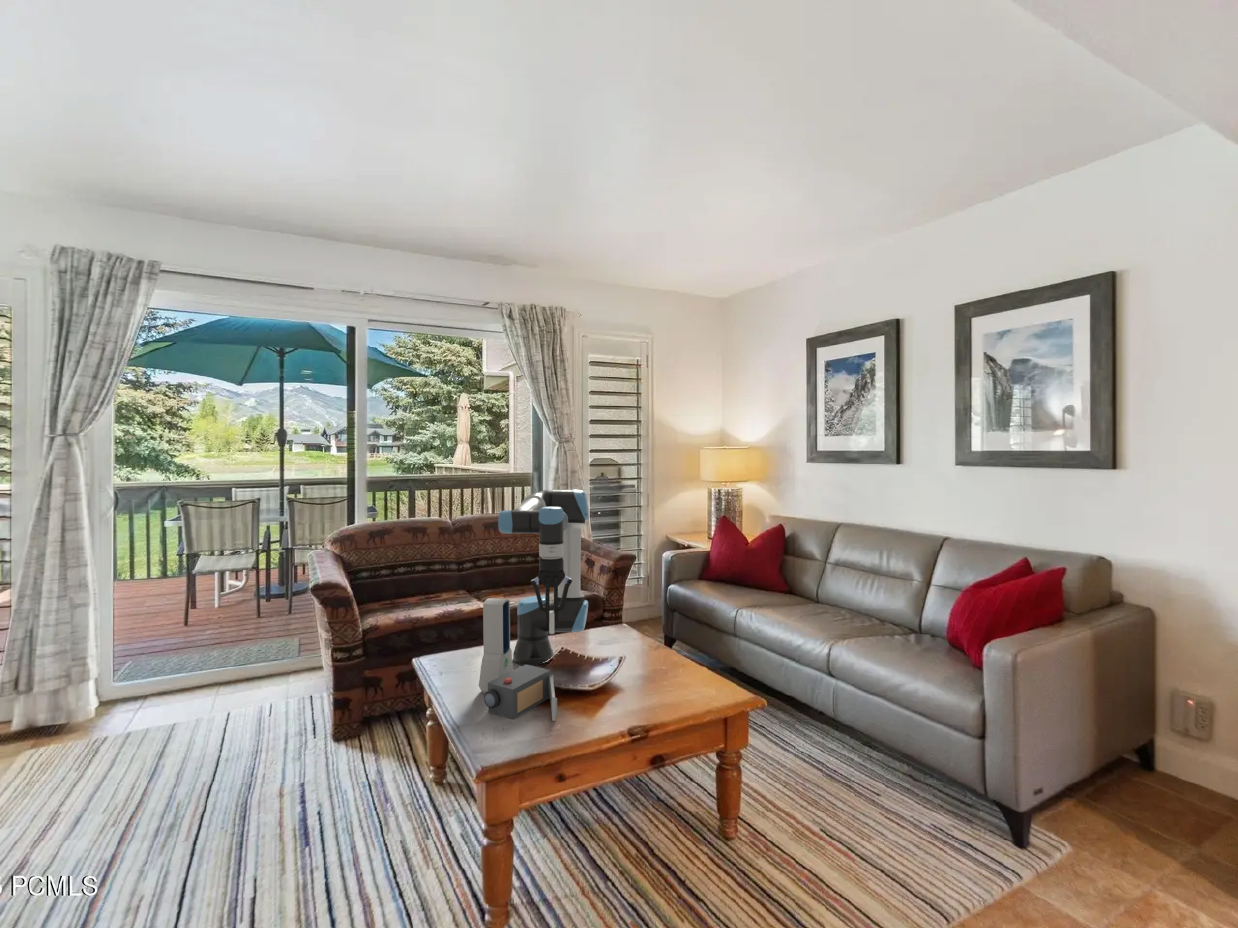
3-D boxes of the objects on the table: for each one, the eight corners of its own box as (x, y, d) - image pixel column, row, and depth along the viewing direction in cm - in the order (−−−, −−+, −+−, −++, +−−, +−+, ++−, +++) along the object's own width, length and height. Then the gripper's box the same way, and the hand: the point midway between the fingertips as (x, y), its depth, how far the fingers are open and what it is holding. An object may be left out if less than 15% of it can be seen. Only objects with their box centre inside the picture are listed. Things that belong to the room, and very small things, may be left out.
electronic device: (499, 696, 198) (498, 604, 197) (478, 694, 199) (476, 603, 198) (513, 681, 210) (512, 595, 209) (493, 679, 211) (492, 594, 210)
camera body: (526, 690, 202) (525, 661, 201) (550, 697, 196) (550, 667, 196) (483, 713, 185) (483, 681, 184) (509, 721, 180) (508, 688, 179)
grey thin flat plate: (549, 697, 196) (549, 675, 196) (554, 697, 196) (554, 674, 196) (551, 721, 179) (551, 696, 179) (557, 721, 180) (557, 696, 179)
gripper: (530, 559, 184) (530, 637, 184) (573, 558, 186) (573, 635, 186) (530, 555, 191) (530, 630, 191) (571, 554, 193) (571, 628, 193)
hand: (551, 632), depth 189 cm, fingers closed
